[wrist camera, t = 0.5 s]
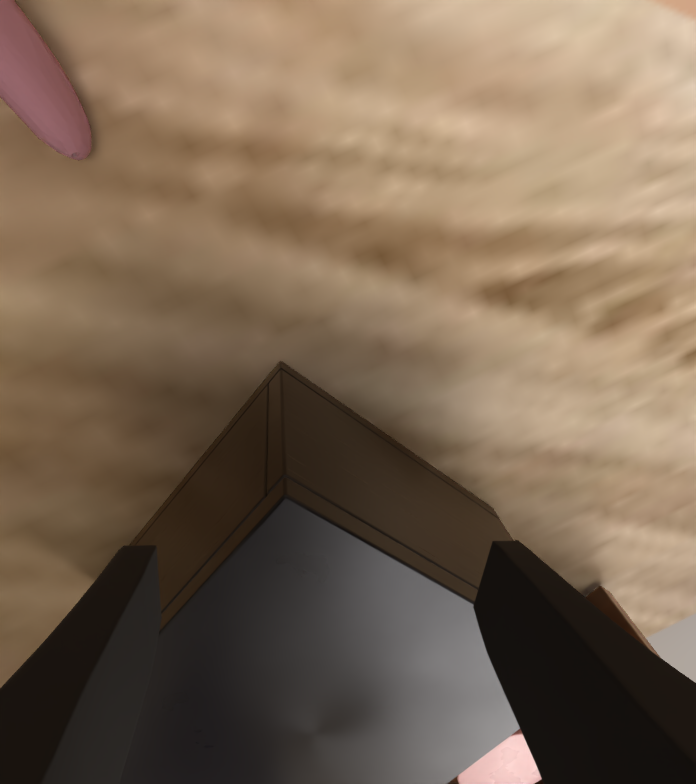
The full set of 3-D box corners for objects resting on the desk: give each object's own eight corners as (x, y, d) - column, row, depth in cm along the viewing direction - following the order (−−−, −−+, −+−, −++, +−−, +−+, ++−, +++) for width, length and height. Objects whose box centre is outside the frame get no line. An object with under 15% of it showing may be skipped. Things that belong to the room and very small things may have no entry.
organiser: (493, 508, 24) (596, 672, 16) (315, 674, 27) (332, 872, 20) (280, 359, 19) (285, 494, 11) (97, 583, 22) (7, 800, 15)
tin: (493, 683, 27) (539, 793, 22) (414, 684, 26) (445, 799, 21) (520, 624, 25) (576, 731, 20) (436, 624, 24) (475, 735, 19)
